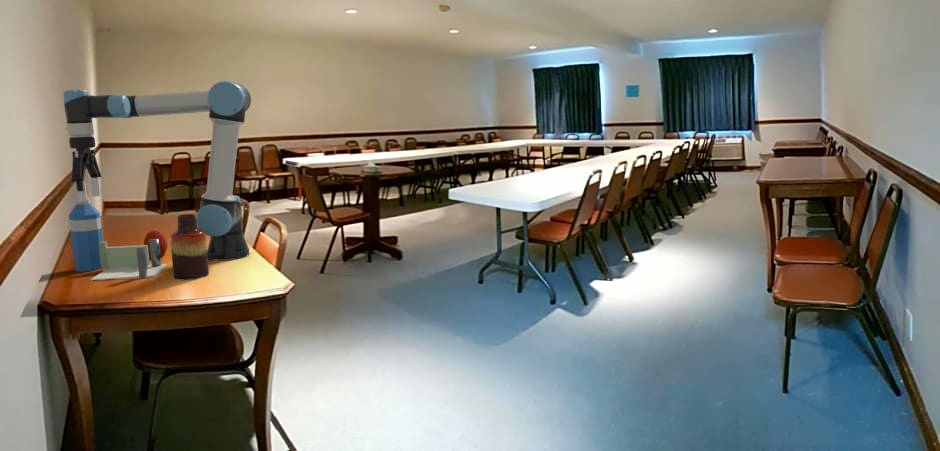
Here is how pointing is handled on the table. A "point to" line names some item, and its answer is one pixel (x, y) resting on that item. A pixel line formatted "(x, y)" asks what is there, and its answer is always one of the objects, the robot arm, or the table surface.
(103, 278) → the board
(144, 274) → the stop post
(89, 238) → the water bottle
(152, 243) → the hinge post
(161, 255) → the apple
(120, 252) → the gate
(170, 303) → the table surface
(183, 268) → the vase
